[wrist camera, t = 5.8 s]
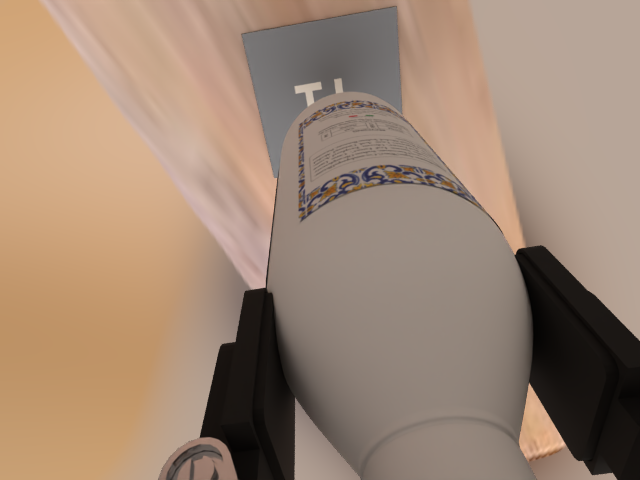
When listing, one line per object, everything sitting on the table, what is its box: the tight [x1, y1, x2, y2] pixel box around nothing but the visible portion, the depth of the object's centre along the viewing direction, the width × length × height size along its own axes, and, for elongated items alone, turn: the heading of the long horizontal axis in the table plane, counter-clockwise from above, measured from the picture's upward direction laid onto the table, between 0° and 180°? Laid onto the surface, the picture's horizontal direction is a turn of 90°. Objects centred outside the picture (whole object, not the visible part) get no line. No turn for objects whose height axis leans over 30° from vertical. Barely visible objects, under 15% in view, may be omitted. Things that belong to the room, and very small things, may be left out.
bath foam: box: [266, 92, 537, 480], centre depth 13 cm, size 7×7×20 cm
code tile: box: [242, 6, 402, 178], centre depth 35 cm, size 12×12×1 cm
